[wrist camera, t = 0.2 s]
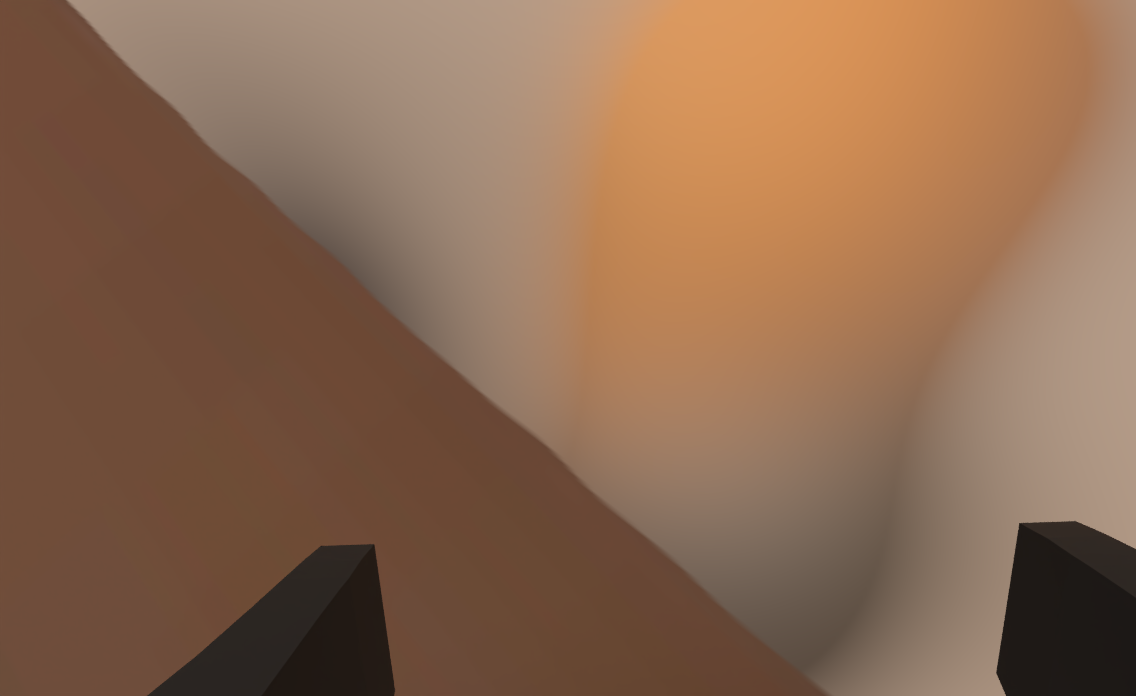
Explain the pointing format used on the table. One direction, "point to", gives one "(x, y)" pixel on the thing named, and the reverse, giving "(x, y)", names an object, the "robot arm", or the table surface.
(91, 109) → the table surface
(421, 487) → the table surface
